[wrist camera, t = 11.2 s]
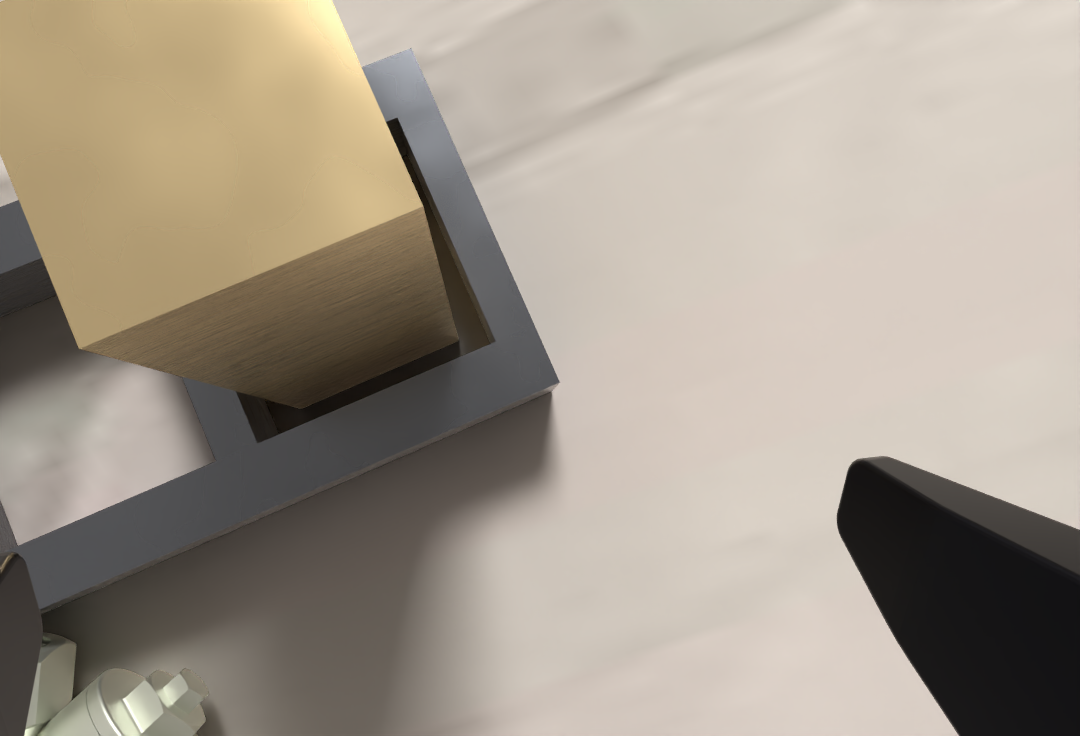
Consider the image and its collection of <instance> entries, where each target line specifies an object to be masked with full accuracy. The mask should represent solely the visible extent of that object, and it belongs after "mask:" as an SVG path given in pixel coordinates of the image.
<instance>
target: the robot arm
mask: <svg viewBox="0 0 1080 736" xmlns="http://www.w3.org/2000/svg"><path fill="white" fill-rule="evenodd" d="M837 526H838V530H839V534H840V536H841V538H842V540H843V542H844V544H845V546H846V548H847V549H848V551H849V553H850V555H851V557H852V559H853V561H854V563H855V565H856V566H857V568H858V570H859V572H860V574H861V576H862V578H863V580H864V581H865V583H866V585H867V587H868V589H869V591H870V593H871V595H872V597H873V598H874V600H875V602H876V604H877V606H878V608H879V610H880V612H881V613H882V615H883V617H884V619H885V621H886V623H887V625H888V626H889V628H890V630H891V632H892V633H893V635H894V637H895V639H896V641H897V642H898V644H899V645H900V647H901V649H902V650H903V652H904V653H905V655H906V656H907V658H908V660H909V661H910V663H911V664H912V666H913V667H914V669H915V670H916V672H917V673H918V675H919V676H920V678H921V679H922V681H923V682H924V684H925V685H926V687H927V688H928V690H929V691H930V693H931V694H932V696H933V697H934V699H935V700H936V702H937V703H938V705H939V706H940V708H941V709H942V711H943V712H944V714H945V715H946V717H947V718H948V720H949V721H950V723H951V724H952V726H953V727H954V729H955V730H956V732H957V733H958V735H959V736H1080V530H1079V529H1076V528H1073V527H1071V526H1068V525H1066V524H1063V523H1060V522H1058V521H1055V520H1052V519H1050V518H1047V517H1045V516H1042V515H1039V514H1037V513H1034V512H1032V511H1029V510H1026V509H1024V508H1021V507H1019V506H1016V505H1013V504H1011V503H1008V502H1005V501H1003V500H1000V499H998V498H995V497H992V496H990V495H987V494H985V493H982V492H979V491H977V490H974V489H972V488H969V487H966V486H964V485H961V484H958V483H956V482H953V481H951V480H948V479H945V478H943V477H940V476H938V475H935V474H932V473H930V472H927V471H925V470H922V469H919V468H917V467H914V466H911V465H909V464H906V463H904V462H901V461H898V460H896V459H893V458H890V457H886V456H879V457H871V458H862V459H857V460H855V461H854V462H853V463H852V464H851V465H850V467H849V469H848V472H847V476H846V480H845V484H844V488H843V492H842V496H841V500H840V504H839V508H838V512H837ZM42 634H43V627H42V618H41V613H40V610H39V606H38V603H37V599H36V596H35V592H34V589H33V585H32V582H31V578H30V575H29V571H28V568H27V565H26V562H25V560H24V559H23V557H22V556H21V555H20V554H18V553H16V552H3V553H0V736H24V734H25V729H26V724H27V718H28V713H29V708H30V702H31V697H32V692H33V687H34V681H35V676H36V671H37V665H38V660H39V655H40V649H41V644H42Z"/></svg>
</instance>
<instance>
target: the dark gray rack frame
mask: <svg viewBox="0 0 1080 736" xmlns="http://www.w3.org/2000/svg"><path fill="white" fill-rule="evenodd" d="M362 70H363V72H364V74H365V76H366V79H367V81H368V83H369V85H370V88H371V90H372V92H373V94H374V97H375V99H376V101H377V103H378V106H379V108H380V110H381V112H382V115H383V117H384V119H385V121H386V124H387V126H388V128H389V130H390V133H391V135H392V137H393V139H394V142H395V144H396V146H397V148H398V151H399V153H400V155H401V157H402V156H405V155H408V157H409V159H410V161H411V164H412V166H413V168H414V170H415V173H416V175H417V177H418V180H419V182H420V184H421V186H422V189H423V191H424V193H425V196H426V198H427V200H428V202H429V205H430V207H431V209H432V212H433V214H434V216H435V218H436V221H437V223H438V225H439V227H440V230H441V232H442V234H443V237H444V239H445V241H446V243H447V246H448V248H449V250H450V253H451V255H452V257H453V259H454V262H455V264H456V266H457V269H458V271H459V273H460V275H461V278H462V280H463V282H464V284H465V287H466V289H467V291H468V294H469V296H470V298H471V300H472V303H473V305H474V307H475V310H476V312H477V314H478V316H479V319H480V321H481V323H482V325H483V328H484V330H485V332H486V335H487V337H488V339H489V341H490V344H489V345H487V346H484V347H482V348H480V349H477V350H475V351H473V352H470V353H468V354H466V355H463V356H461V357H459V358H456V359H454V360H452V361H449V362H447V363H445V364H442V365H440V366H438V367H435V368H433V369H431V370H428V371H426V372H424V373H421V374H419V375H417V376H414V377H412V378H409V379H407V380H405V381H402V382H400V383H398V384H395V385H393V386H391V387H388V388H386V389H384V390H381V391H379V392H377V393H374V394H372V395H370V396H367V397H365V398H363V399H360V400H358V401H356V402H353V403H351V404H349V405H346V406H344V407H342V408H339V409H337V410H335V411H332V412H330V413H328V414H325V415H323V416H321V417H318V418H316V419H314V420H311V421H309V422H307V423H304V424H302V425H300V426H297V427H295V428H293V429H290V430H288V431H286V432H283V433H281V434H279V433H278V431H277V428H276V426H275V423H274V421H273V418H272V416H271V414H270V411H269V409H268V406H267V404H266V402H265V399H263V398H259V397H255V396H252V395H248V394H244V393H241V392H237V391H233V390H230V389H226V388H222V387H218V386H215V385H211V384H207V383H204V382H200V381H196V380H193V379H189V378H185V377H182V378H183V381H184V383H185V386H186V388H187V391H188V393H189V396H190V398H191V401H192V403H193V406H194V408H195V410H196V413H197V415H198V418H199V420H200V423H201V425H202V428H203V430H204V433H205V435H206V438H207V440H208V442H209V445H210V447H211V450H212V452H213V455H214V457H215V460H216V462H213V463H211V464H209V465H206V466H204V467H202V468H199V469H197V470H195V471H192V472H190V473H187V474H185V475H183V476H180V477H178V478H176V479H173V480H171V481H169V482H166V483H164V484H162V485H159V486H157V487H155V488H152V489H150V490H148V491H145V492H143V493H141V494H138V495H136V496H134V497H131V498H129V499H127V500H124V501H122V502H120V503H117V504H115V505H113V506H110V507H108V508H106V509H103V510H101V511H99V512H96V513H94V514H92V515H89V516H87V517H85V518H82V519H80V520H78V521H75V522H73V523H71V524H68V525H66V526H64V527H61V528H59V529H57V530H54V531H52V532H50V533H47V534H45V535H43V536H40V537H38V538H36V539H33V540H31V541H29V542H26V543H24V544H22V545H19V546H17V543H16V540H15V538H14V535H13V533H12V530H11V527H10V525H9V522H8V520H7V517H6V514H5V512H4V509H3V507H2V504H1V501H0V553H3V552H16V553H18V554H20V555H21V556H22V557H23V559H24V560H25V562H26V565H27V568H28V571H29V575H30V578H31V582H32V585H33V589H34V592H35V596H36V599H37V603H38V606H39V610H40V613H41V614H43V613H46V612H48V611H50V610H52V609H55V608H57V607H59V606H62V605H64V604H66V603H68V602H71V601H73V600H75V599H78V598H80V597H82V596H85V595H87V594H89V593H91V592H94V591H96V590H98V589H101V588H103V587H105V586H107V585H110V584H112V583H114V582H117V581H119V580H121V579H123V578H126V577H128V576H130V575H133V574H135V573H137V572H139V571H142V570H144V569H146V568H149V567H151V566H153V565H155V564H158V563H160V562H162V561H165V560H167V559H169V558H171V557H174V556H176V555H178V554H181V553H183V552H185V551H187V550H190V549H192V548H194V547H197V546H199V545H201V544H203V543H206V542H208V541H210V540H213V539H215V538H217V537H219V536H222V535H224V534H226V533H229V532H231V531H233V530H235V529H238V528H240V527H242V526H245V525H247V524H249V523H251V522H254V521H256V520H258V519H261V518H263V517H265V516H267V515H270V514H272V513H274V512H277V511H279V510H281V509H283V508H286V507H288V506H290V505H293V504H295V503H297V502H299V501H302V500H304V499H306V498H309V497H311V496H313V495H315V494H318V493H320V492H322V491H325V490H327V489H329V488H332V487H334V486H336V485H338V484H341V483H343V482H345V481H348V480H350V479H352V478H354V477H357V476H359V475H361V474H364V473H366V472H368V471H370V470H373V469H375V468H377V467H380V466H382V465H384V464H386V463H389V462H391V461H393V460H396V459H398V458H400V457H402V456H405V455H407V454H409V453H412V452H414V451H416V450H418V449H421V448H423V447H425V446H428V445H430V444H432V443H434V442H437V441H439V440H441V439H444V438H446V437H448V436H450V435H453V434H455V433H457V432H460V431H462V430H464V429H466V428H469V427H471V426H473V425H476V424H478V423H480V422H482V421H485V420H487V419H489V418H492V417H494V416H496V415H498V414H501V413H503V412H505V411H508V410H510V409H512V408H514V407H517V406H519V405H521V404H524V403H526V402H528V401H530V400H533V399H535V398H537V397H540V396H542V395H544V394H546V393H549V392H551V391H553V389H554V388H555V387H556V386H557V385H558V384H559V383H560V382H559V380H558V377H557V375H556V373H555V371H554V368H553V366H552V364H551V362H550V359H549V357H548V355H547V353H546V350H545V348H544V346H543V344H542V341H541V339H540V337H539V335H538V332H537V330H536V328H535V326H534V323H533V321H532V319H531V317H530V314H529V312H528V310H527V308H526V305H525V303H524V301H523V299H522V296H521V294H520V292H519V290H518V287H517V285H516V283H515V281H514V278H513V276H512V274H511V272H510V269H509V267H508V265H507V262H506V260H505V258H504V256H503V253H502V251H501V249H500V247H499V244H498V242H497V240H496V238H495V235H494V233H493V231H492V229H491V226H490V224H489V222H488V220H487V217H486V215H485V213H484V211H483V208H482V206H481V204H480V202H479V199H478V197H477V195H476V193H475V190H474V188H473V186H472V184H471V181H470V179H469V177H468V175H467V172H466V170H465V168H464V166H463V163H462V161H461V159H460V157H459V154H458V152H457V150H456V148H455V145H454V143H453V141H452V139H451V136H450V134H449V132H448V130H447V127H446V125H445V123H444V121H443V118H442V116H441V114H440V112H439V109H438V107H437V105H436V103H435V100H434V98H433V96H432V94H431V91H430V89H429V87H428V85H427V82H426V80H425V78H424V76H423V73H422V71H421V69H420V67H419V64H418V62H417V60H416V58H415V55H414V53H413V51H412V49H411V48H410V49H408V50H405V51H403V52H400V53H397V54H395V55H392V56H390V57H387V58H385V59H382V60H379V61H377V62H374V63H372V64H369V65H366V66H364V67H362ZM55 295H57V293H56V291H55V288H54V286H53V283H52V281H51V278H50V276H49V273H48V271H47V268H46V266H45V263H44V261H43V259H42V256H41V254H40V251H39V249H38V246H37V244H36V241H35V239H34V236H33V234H32V231H31V229H30V226H29V224H28V221H27V219H26V216H25V214H24V212H23V209H22V207H21V204H20V202H19V200H18V201H15V202H12V203H10V204H7V205H5V206H2V207H0V317H2V316H5V315H7V314H10V313H12V312H15V311H17V310H20V309H22V308H25V307H27V306H30V305H32V304H35V303H37V302H40V301H42V300H45V299H47V298H50V297H52V296H55Z"/></svg>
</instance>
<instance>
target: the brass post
mask: <svg viewBox="0 0 1080 736" xmlns="http://www.w3.org/2000/svg"><path fill="white" fill-rule="evenodd" d="M0 155H1V157H2V160H3V162H4V165H5V167H6V169H7V172H8V174H9V177H10V179H11V182H12V184H13V187H14V189H15V192H16V194H17V197H18V199H19V202H20V204H21V207H22V209H23V212H24V214H25V216H26V219H27V221H28V224H29V226H30V229H31V231H32V234H33V236H34V239H35V241H36V244H37V246H38V249H39V251H40V254H41V256H42V259H43V261H44V263H45V266H46V268H47V271H48V273H49V276H50V278H51V281H52V283H53V286H54V288H55V291H56V293H57V296H58V298H59V301H60V303H61V306H62V308H63V310H64V313H65V315H66V318H67V320H68V323H69V325H70V328H71V330H72V333H73V335H74V338H75V340H76V343H77V345H78V348H79V349H82V350H85V351H89V352H93V353H96V354H100V355H104V356H107V357H111V358H115V359H119V360H122V361H126V362H130V363H133V364H137V365H141V366H144V367H148V368H152V369H156V370H159V371H163V372H167V373H170V374H174V375H178V376H181V377H185V378H189V379H193V380H196V381H200V382H204V383H207V384H211V385H215V386H218V387H222V388H226V389H230V390H233V391H237V392H241V393H244V394H248V395H252V396H255V397H259V398H263V399H267V400H270V401H274V402H278V403H281V404H285V405H289V406H292V407H296V408H300V409H302V408H305V407H307V406H309V405H311V404H314V403H316V402H318V401H321V400H323V399H325V398H328V397H330V396H332V395H335V394H337V393H339V392H342V391H344V390H346V389H348V388H351V387H353V386H355V385H358V384H360V383H362V382H365V381H367V380H369V379H372V378H374V377H376V376H379V375H381V374H383V373H385V372H388V371H390V370H392V369H395V368H397V367H399V366H402V365H404V364H406V363H409V362H411V361H413V360H416V359H418V358H420V357H422V356H425V355H427V354H429V353H432V352H434V351H436V350H439V349H441V348H443V347H446V346H448V345H450V344H453V343H455V342H457V341H459V338H458V334H457V331H456V327H455V323H454V319H453V316H452V312H451V308H450V304H449V301H448V297H447V293H446V289H445V286H444V282H443V278H442V274H441V271H440V267H439V263H438V260H437V256H436V252H435V248H434V245H433V241H432V237H431V233H430V230H429V226H428V222H427V218H426V215H425V211H424V207H423V205H422V202H421V200H420V198H419V196H418V193H417V191H416V189H415V187H414V184H413V182H412V180H411V178H410V175H409V173H408V171H407V169H406V166H405V164H404V162H403V160H402V157H401V155H400V153H399V151H398V148H397V146H396V144H395V142H394V139H393V137H392V135H391V133H390V130H389V128H388V126H387V124H386V121H385V119H384V117H383V115H382V112H381V110H380V108H379V106H378V103H377V101H376V99H375V97H374V94H373V92H372V90H371V88H370V85H369V83H368V81H367V79H366V76H365V74H364V72H363V70H362V67H361V65H360V63H359V61H358V58H357V56H356V54H355V52H354V49H353V47H352V45H351V43H350V40H349V38H348V36H347V34H346V31H345V29H344V27H343V25H342V22H341V20H340V18H339V16H338V13H337V11H336V9H335V7H334V4H333V2H332V0H4V1H1V2H0Z"/></svg>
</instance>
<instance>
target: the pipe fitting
mask: <svg viewBox="0 0 1080 736" xmlns="http://www.w3.org/2000/svg"><path fill="white" fill-rule="evenodd" d="M76 646H77V644H76V643H74V642H73V641H71V640H69V639H67V638H64V637H62V636H59V635H56V634H51V633H43V634H42V644H41V649H40V655H39V660H38V665H37V671H36V676H35V681H34V687H33V692H32V697H31V702H30V708H29V713H28V718H27V724H26V729H25V734H24V736H198V734H197V731H198V730H199V728H200V727H201V726H202V725H203V724H204V722H205V721H206V718H205V715H204V711H203V709H202V707H201V705H200V703H201V702H202V701H203V700H204V699H205V698H206V697H207V696H208V694H209V692H208V689H207V687H206V685H205V684H204V682H203V681H202V680H201V678H200V677H199V676H198V675H196V674H195V673H194V672H192V671H191V670H188V669H186V668H184V669H183V670H182V671H181V672H180V673H179V674H178V675H177V676H175V677H174V676H173V675H171V674H169V673H167V672H164V671H162V670H159V669H157V670H156V671H155V672H153V673H152V674H151V675H150V676H149V677H147V678H144V677H143V676H141V675H139V674H137V673H134V672H132V671H129V670H125V669H119V668H115V669H109V670H106V671H104V672H103V673H102V674H101V675H99V676H98V677H97V678H96V679H95V680H94V681H93V682H92V683H91V684H90V685H89V686H88V687H86V688H85V689H84V690H83V691H82V692H81V693H80V694H79V695H78V696H76V697H75V698H74V699H73V700H72V701H71V699H72V693H73V681H74V669H75V657H76ZM70 701H71V702H70ZM69 702H70V703H69ZM68 703H69V704H68ZM67 704H68V705H67Z"/></svg>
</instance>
